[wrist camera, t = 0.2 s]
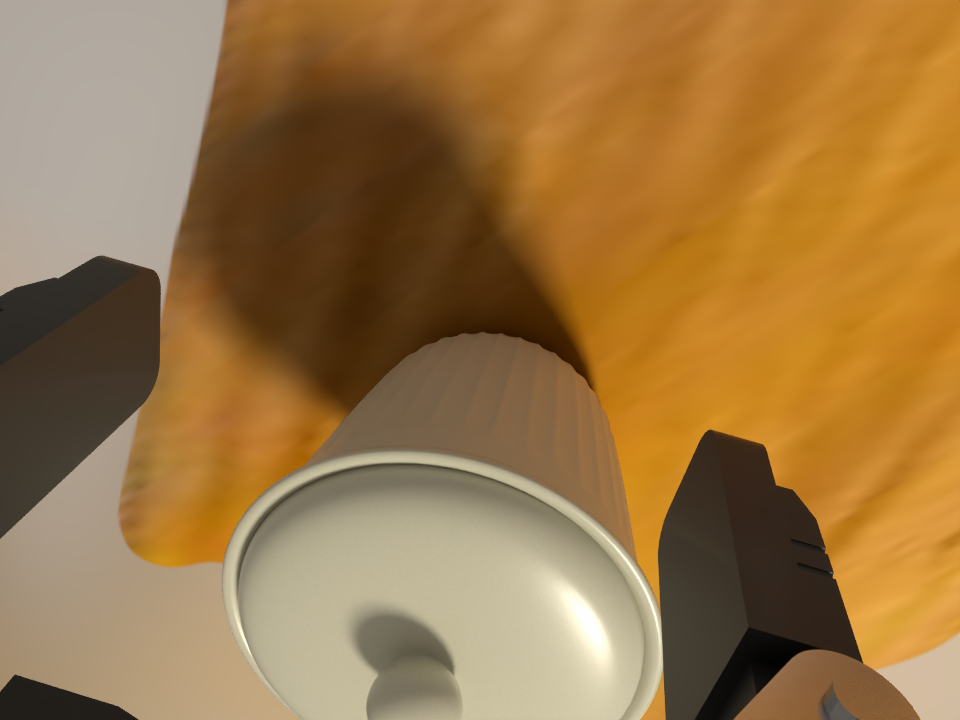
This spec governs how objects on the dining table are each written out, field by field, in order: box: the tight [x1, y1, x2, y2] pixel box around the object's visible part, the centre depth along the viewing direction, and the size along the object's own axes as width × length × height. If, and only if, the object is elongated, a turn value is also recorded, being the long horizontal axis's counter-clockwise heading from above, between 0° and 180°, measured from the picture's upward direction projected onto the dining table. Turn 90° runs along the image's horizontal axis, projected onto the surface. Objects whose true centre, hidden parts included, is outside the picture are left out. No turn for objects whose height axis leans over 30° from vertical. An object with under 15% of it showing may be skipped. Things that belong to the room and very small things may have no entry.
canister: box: [222, 332, 663, 720], centre depth 36 cm, size 18×18×21 cm
